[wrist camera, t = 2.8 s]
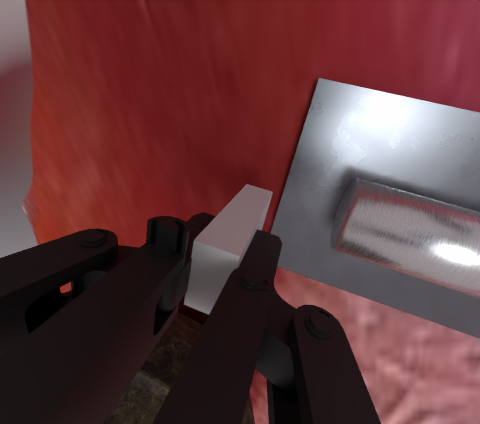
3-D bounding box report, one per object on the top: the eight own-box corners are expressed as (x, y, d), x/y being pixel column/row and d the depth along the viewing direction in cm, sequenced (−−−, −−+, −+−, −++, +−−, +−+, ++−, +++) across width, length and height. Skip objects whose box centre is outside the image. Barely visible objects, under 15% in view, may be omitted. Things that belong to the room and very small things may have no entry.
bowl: (292, 304, 23) (278, 427, 14) (255, 426, 32) (232, 547, 23) (99, 244, 27) (-5, 309, 18) (115, 366, 36) (51, 449, 28)
